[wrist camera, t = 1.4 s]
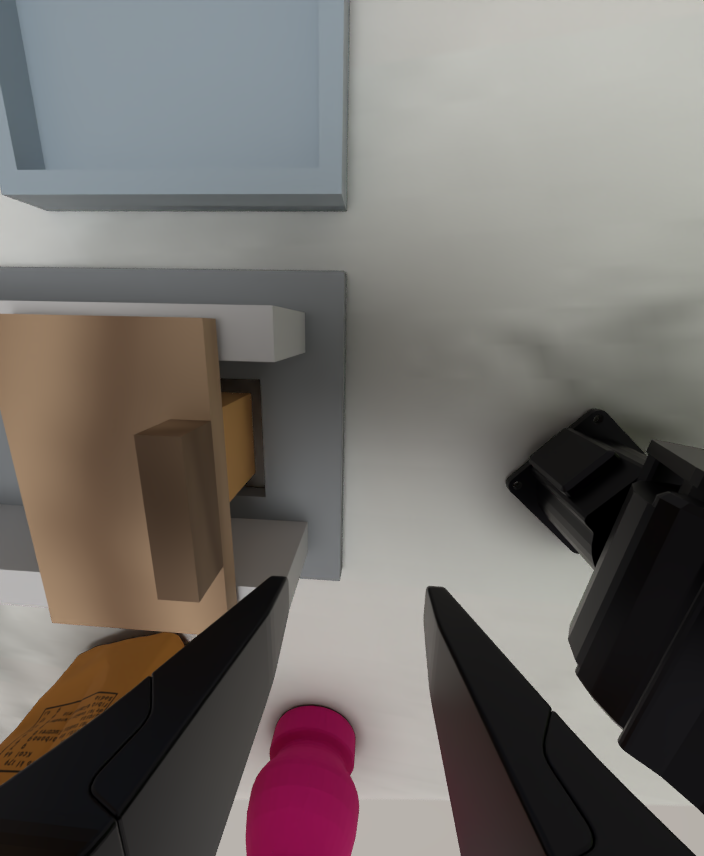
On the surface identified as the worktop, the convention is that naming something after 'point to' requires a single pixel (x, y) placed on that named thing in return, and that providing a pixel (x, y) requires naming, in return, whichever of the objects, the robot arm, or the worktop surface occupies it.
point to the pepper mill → (305, 788)
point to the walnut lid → (121, 466)
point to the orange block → (238, 439)
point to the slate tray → (174, 104)
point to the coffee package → (84, 696)
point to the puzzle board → (238, 359)
